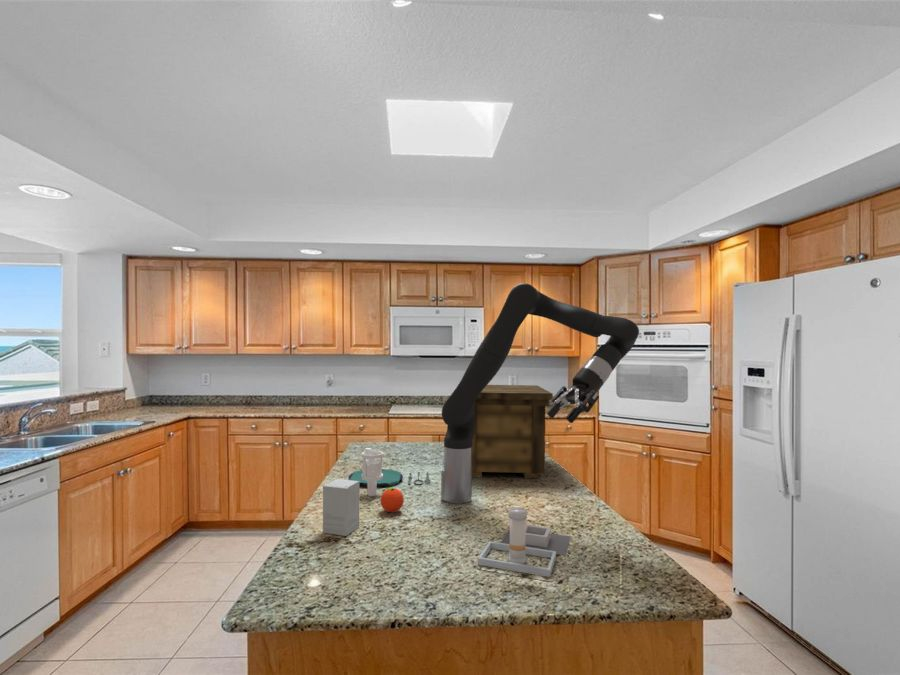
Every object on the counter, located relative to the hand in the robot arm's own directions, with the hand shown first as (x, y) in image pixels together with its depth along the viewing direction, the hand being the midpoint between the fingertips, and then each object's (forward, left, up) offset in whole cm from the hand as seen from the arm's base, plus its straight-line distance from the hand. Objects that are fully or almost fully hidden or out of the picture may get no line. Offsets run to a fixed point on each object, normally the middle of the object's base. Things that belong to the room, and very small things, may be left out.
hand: (558, 418), depth 133 cm
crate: (-30, +58, -31) cm, 73 cm away
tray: (-6, -25, -31) cm, 40 cm away
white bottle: (-6, -25, -30) cm, 39 cm away
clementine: (-49, -3, -31) cm, 58 cm away
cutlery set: (-64, +26, -31) cm, 76 cm away
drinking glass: (-62, +9, -31) cm, 70 cm away
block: (-4, -12, -31) cm, 33 cm away
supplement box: (-55, -21, -31) cm, 66 cm away
